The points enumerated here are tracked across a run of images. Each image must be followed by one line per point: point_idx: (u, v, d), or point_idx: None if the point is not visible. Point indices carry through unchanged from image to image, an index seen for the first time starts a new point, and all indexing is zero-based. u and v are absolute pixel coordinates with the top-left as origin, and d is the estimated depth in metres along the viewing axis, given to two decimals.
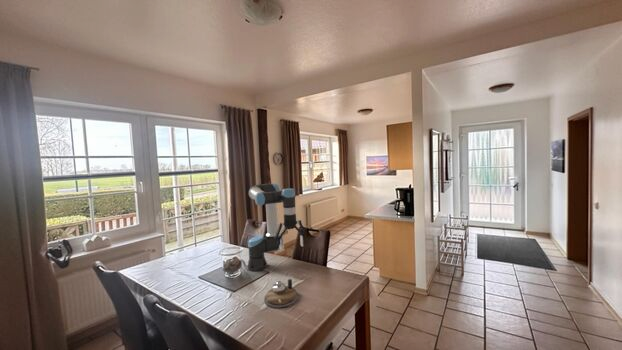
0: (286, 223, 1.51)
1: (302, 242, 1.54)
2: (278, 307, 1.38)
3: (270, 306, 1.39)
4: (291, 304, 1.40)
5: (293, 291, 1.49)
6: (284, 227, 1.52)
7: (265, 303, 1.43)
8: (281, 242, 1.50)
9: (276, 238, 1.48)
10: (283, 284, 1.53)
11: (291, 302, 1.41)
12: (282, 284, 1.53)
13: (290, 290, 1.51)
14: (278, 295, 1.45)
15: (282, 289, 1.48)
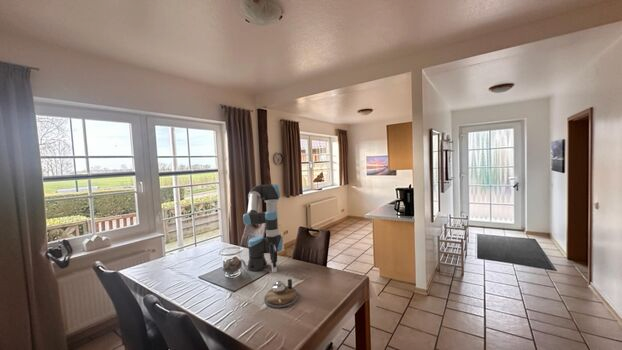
0: None
1: (272, 268, 1.59)
2: (278, 307, 1.38)
3: (270, 306, 1.39)
4: (291, 304, 1.40)
5: (293, 291, 1.49)
6: None
7: (265, 303, 1.43)
8: None
9: (270, 258, 1.61)
10: (283, 284, 1.53)
11: (291, 302, 1.41)
12: (282, 284, 1.53)
13: (290, 290, 1.51)
14: (278, 295, 1.45)
15: (282, 289, 1.48)
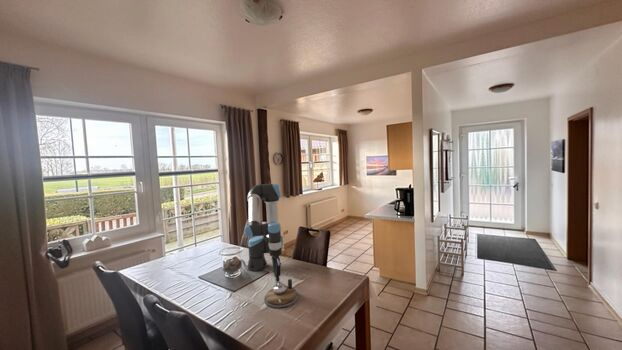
0: None
1: (275, 282, 1.53)
2: (278, 307, 1.38)
3: (270, 306, 1.39)
4: (291, 304, 1.40)
5: (293, 291, 1.49)
6: None
7: (265, 303, 1.43)
8: None
9: (273, 271, 1.56)
10: (284, 285, 1.51)
11: (291, 302, 1.41)
12: (283, 285, 1.51)
13: (290, 290, 1.51)
14: (278, 295, 1.45)
15: (283, 290, 1.47)
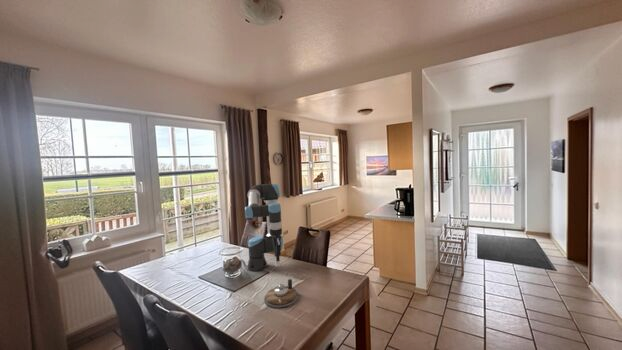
0: (273, 235, 1.57)
1: (275, 262, 1.55)
2: (278, 307, 1.38)
3: (270, 306, 1.39)
4: (291, 304, 1.40)
5: (293, 291, 1.49)
6: None
7: (265, 303, 1.43)
8: (275, 258, 1.55)
9: None
10: (285, 287, 1.49)
11: (291, 302, 1.41)
12: (284, 287, 1.49)
13: (290, 290, 1.51)
14: None
15: (284, 292, 1.45)
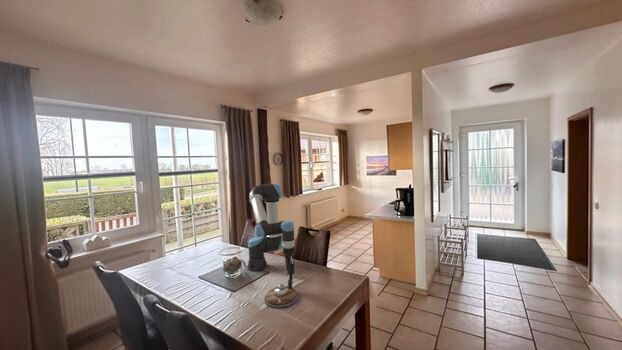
0: None
1: None
2: (278, 307, 1.38)
3: (270, 306, 1.39)
4: (291, 304, 1.40)
5: (293, 291, 1.49)
6: None
7: (265, 303, 1.43)
8: (288, 276, 1.55)
9: (286, 269, 1.58)
10: (285, 287, 1.49)
11: (291, 302, 1.41)
12: (284, 287, 1.49)
13: (290, 290, 1.51)
14: None
15: (284, 292, 1.45)
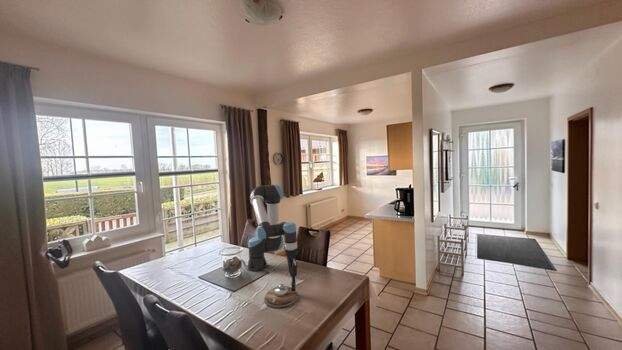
0: None
1: None
2: (278, 307, 1.38)
3: (270, 306, 1.39)
4: (291, 304, 1.40)
5: (293, 294, 1.46)
6: None
7: (265, 303, 1.43)
8: None
9: (289, 272, 1.55)
10: (286, 288, 1.47)
11: (291, 302, 1.41)
12: (285, 288, 1.48)
13: (291, 292, 1.48)
14: None
15: (282, 293, 1.44)
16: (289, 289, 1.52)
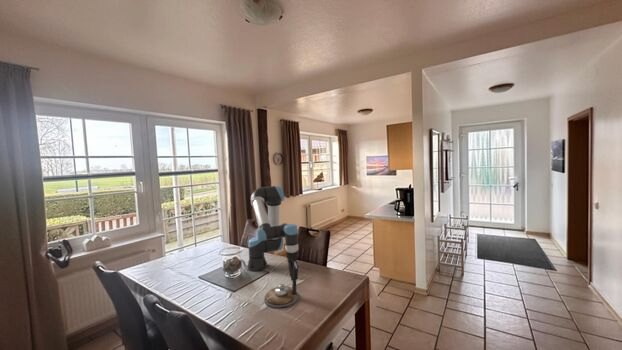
0: None
1: None
2: (278, 307, 1.38)
3: (270, 306, 1.39)
4: (291, 304, 1.40)
5: (289, 298, 1.42)
6: None
7: (265, 303, 1.43)
8: (291, 282, 1.48)
9: None
10: (285, 290, 1.46)
11: (291, 302, 1.41)
12: (284, 289, 1.46)
13: (290, 295, 1.45)
14: None
15: (278, 293, 1.44)
16: (291, 292, 1.49)
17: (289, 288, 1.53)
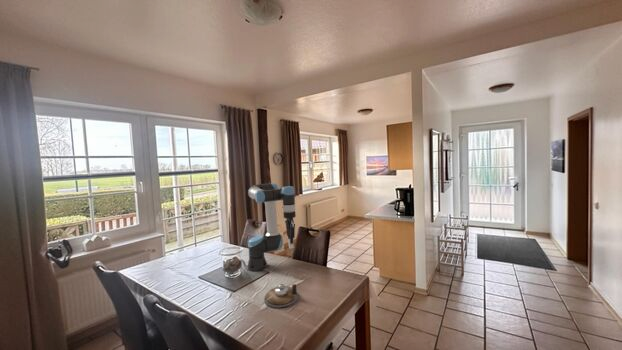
0: (286, 218, 1.58)
1: (289, 244, 1.56)
2: (278, 307, 1.38)
3: (270, 306, 1.39)
4: (291, 304, 1.40)
5: (290, 297, 1.43)
6: None
7: (265, 303, 1.43)
8: None
9: (287, 235, 1.58)
10: (285, 289, 1.46)
11: (291, 302, 1.41)
12: (284, 289, 1.46)
13: (290, 295, 1.45)
14: None
15: (278, 293, 1.44)
16: (291, 291, 1.49)
17: (289, 288, 1.53)
